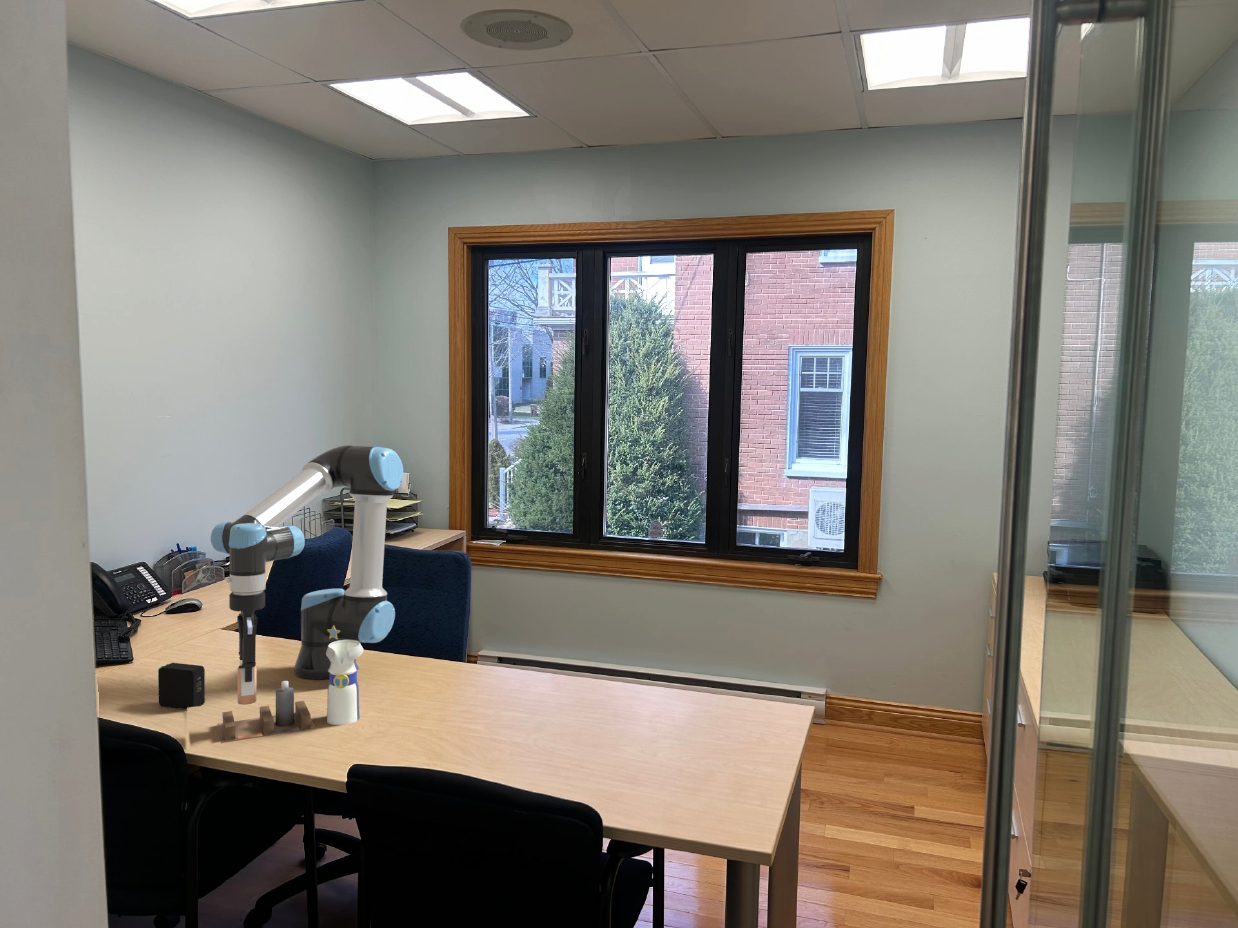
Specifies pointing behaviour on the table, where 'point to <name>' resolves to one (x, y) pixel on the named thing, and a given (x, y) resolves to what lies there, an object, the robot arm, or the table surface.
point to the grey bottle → (284, 705)
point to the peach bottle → (247, 698)
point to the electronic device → (181, 685)
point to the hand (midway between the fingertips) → (246, 691)
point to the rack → (263, 724)
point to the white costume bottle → (343, 680)
